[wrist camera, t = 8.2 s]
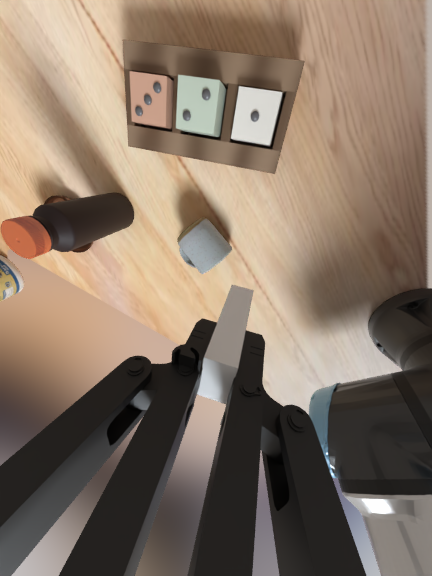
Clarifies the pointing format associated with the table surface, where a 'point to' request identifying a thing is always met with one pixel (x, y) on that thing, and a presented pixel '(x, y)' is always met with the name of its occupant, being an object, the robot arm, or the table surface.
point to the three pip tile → (151, 99)
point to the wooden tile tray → (232, 75)
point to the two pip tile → (200, 105)
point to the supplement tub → (9, 279)
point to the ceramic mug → (203, 245)
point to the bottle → (67, 224)
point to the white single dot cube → (256, 115)
